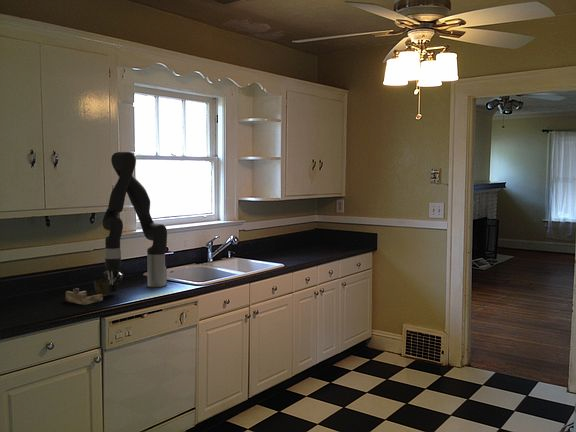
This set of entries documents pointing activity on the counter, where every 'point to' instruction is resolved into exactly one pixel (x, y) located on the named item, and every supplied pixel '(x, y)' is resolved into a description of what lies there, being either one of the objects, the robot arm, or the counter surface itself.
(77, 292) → the hub cradle
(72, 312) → the counter surface
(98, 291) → the cup
